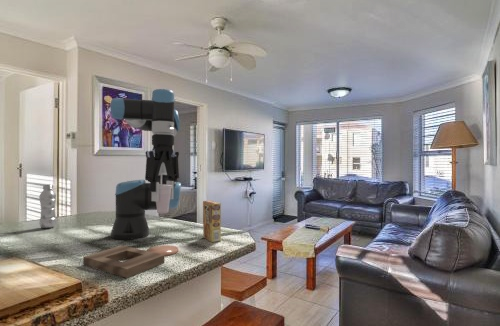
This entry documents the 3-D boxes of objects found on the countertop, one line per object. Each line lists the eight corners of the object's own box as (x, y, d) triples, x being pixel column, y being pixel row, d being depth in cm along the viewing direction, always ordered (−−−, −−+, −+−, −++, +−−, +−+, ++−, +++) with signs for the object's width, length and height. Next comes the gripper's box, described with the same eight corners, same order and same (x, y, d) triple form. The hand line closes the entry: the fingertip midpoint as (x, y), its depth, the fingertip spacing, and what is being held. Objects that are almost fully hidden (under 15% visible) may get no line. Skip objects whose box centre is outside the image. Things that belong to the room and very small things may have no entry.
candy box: (221, 241, 121) (221, 203, 121) (211, 242, 118) (212, 203, 118) (211, 236, 128) (211, 200, 128) (202, 237, 126) (202, 200, 126)
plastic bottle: (59, 227, 141) (59, 184, 141) (43, 230, 135) (43, 185, 135) (52, 225, 145) (52, 184, 144) (36, 228, 139) (36, 185, 138)
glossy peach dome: (139, 253, 105) (139, 251, 105) (162, 245, 114) (162, 243, 114) (162, 258, 99) (162, 256, 99) (185, 250, 109) (185, 248, 109)
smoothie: (155, 210, 109) (155, 172, 109) (173, 210, 110) (173, 172, 110) (151, 214, 103) (151, 173, 103) (170, 214, 103) (170, 173, 103)
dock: (83, 264, 93) (83, 256, 93) (122, 252, 105) (122, 245, 105) (126, 278, 83) (126, 268, 83) (164, 262, 95) (164, 255, 95)
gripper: (149, 131, 96) (148, 204, 96) (189, 135, 112) (189, 197, 113) (133, 132, 99) (132, 202, 100) (174, 136, 116) (174, 196, 117)
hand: (162, 199), depth 106 cm, fingers closed on smoothie, 6 cm apart
